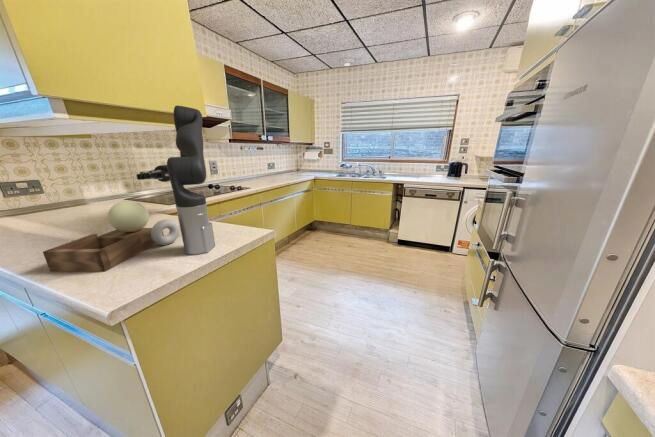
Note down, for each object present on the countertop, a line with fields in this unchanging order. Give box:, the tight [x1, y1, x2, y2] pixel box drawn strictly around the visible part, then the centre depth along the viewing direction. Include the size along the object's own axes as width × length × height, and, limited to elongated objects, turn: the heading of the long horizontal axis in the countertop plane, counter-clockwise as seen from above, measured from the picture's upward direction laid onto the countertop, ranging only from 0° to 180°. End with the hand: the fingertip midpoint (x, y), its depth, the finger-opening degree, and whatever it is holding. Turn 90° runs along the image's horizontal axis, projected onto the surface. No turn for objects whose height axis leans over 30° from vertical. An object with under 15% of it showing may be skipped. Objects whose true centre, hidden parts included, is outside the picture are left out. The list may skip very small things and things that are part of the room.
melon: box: [107, 200, 150, 232], centre depth 87 cm, size 12×12×12 cm
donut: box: [151, 219, 181, 246], centre depth 88 cm, size 10×4×10 cm, turn 155°
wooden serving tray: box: [42, 227, 165, 272], centre depth 81 cm, size 17×26×6 cm, turn 0°
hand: (139, 177), depth 92 cm, fingers closed
